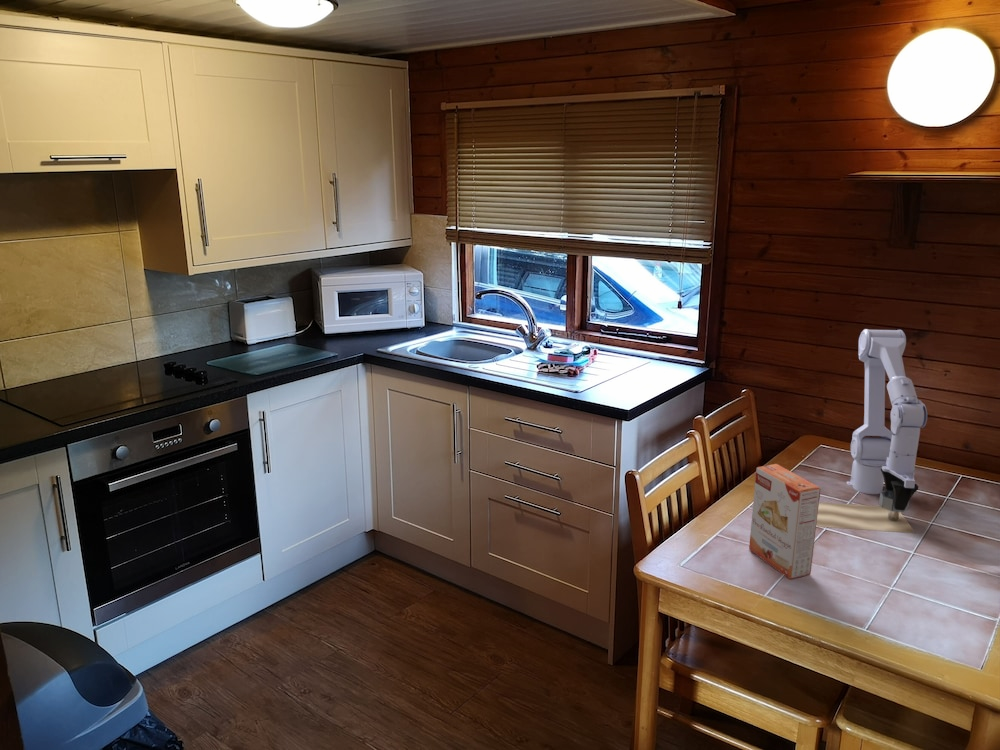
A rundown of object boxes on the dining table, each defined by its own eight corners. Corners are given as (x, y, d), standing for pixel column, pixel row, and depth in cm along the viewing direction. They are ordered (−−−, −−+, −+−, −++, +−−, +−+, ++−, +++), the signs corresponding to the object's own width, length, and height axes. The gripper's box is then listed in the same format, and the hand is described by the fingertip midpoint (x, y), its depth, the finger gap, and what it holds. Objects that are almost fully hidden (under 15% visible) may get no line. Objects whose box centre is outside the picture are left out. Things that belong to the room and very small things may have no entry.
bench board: (805, 505, 200) (805, 501, 200) (896, 511, 197) (896, 507, 196) (817, 530, 187) (818, 526, 187) (915, 537, 183) (915, 533, 183)
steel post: (886, 516, 192) (888, 500, 190) (896, 517, 191) (899, 500, 190) (889, 521, 189) (892, 505, 188) (900, 522, 188) (902, 505, 187)
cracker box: (747, 550, 178) (755, 466, 172) (768, 545, 180) (777, 462, 174) (788, 580, 165) (799, 490, 160) (811, 575, 167) (822, 486, 162)
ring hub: (876, 500, 193) (878, 489, 192) (902, 501, 192) (904, 490, 191) (884, 510, 187) (885, 499, 186) (910, 512, 186) (912, 500, 185)
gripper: (876, 439, 193) (869, 490, 197) (895, 461, 179) (887, 515, 183) (906, 441, 192) (898, 491, 195) (927, 463, 178) (919, 517, 182)
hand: (895, 503), depth 189 cm, fingers closed on ring hub, 6 cm apart
